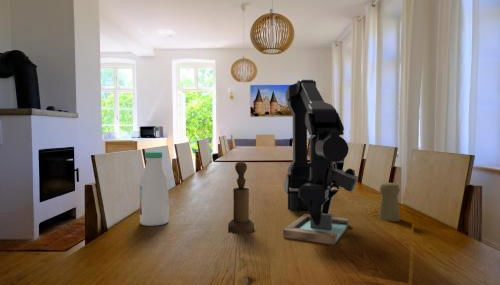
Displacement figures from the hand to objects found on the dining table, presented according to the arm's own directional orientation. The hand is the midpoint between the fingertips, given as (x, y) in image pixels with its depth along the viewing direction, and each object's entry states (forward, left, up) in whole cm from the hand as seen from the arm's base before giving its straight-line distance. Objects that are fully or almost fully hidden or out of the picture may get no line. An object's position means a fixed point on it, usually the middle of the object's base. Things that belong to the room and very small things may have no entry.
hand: (321, 221), depth 83 cm
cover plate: (0, 0, -2) cm, 2 cm away
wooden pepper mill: (-19, -7, -4) cm, 20 cm away
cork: (+14, +21, -4) cm, 26 cm away
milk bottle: (-45, -10, -4) cm, 46 cm away
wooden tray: (-1, 0, -3) cm, 3 cm away
